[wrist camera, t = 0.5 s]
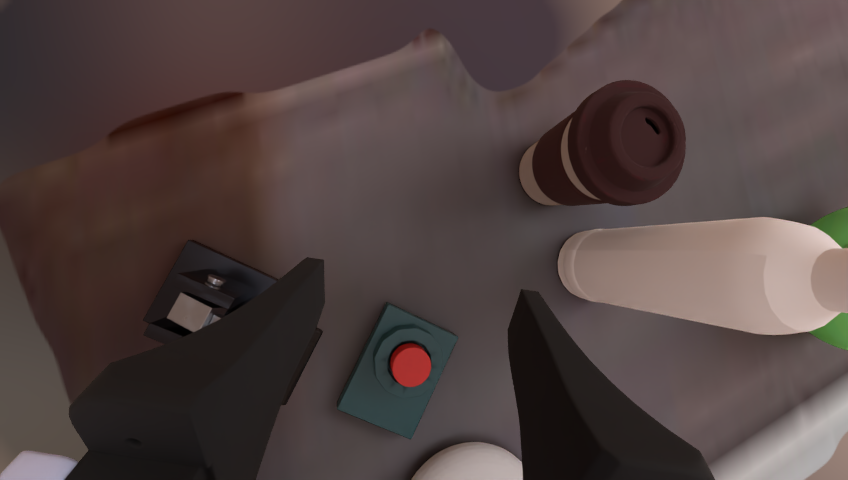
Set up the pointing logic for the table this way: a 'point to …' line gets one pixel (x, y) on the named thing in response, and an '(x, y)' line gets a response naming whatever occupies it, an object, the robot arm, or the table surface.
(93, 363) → the table surface
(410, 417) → the button box
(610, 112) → the coffee cup
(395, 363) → the stop button
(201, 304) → the lever
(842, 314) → the toy bird
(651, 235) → the bottle
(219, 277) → the bracket
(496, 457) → the decorative figurine
